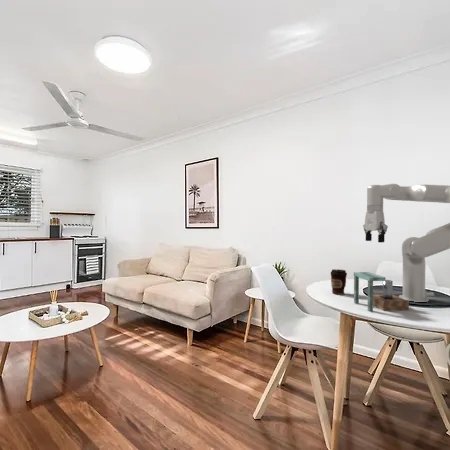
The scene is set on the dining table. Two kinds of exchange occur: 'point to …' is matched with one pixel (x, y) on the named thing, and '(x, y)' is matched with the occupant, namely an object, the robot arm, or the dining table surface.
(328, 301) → the dining table surface
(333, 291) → the coffee cup
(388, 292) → the peg
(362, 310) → the dining table surface
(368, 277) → the socket station
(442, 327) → the dining table surface
